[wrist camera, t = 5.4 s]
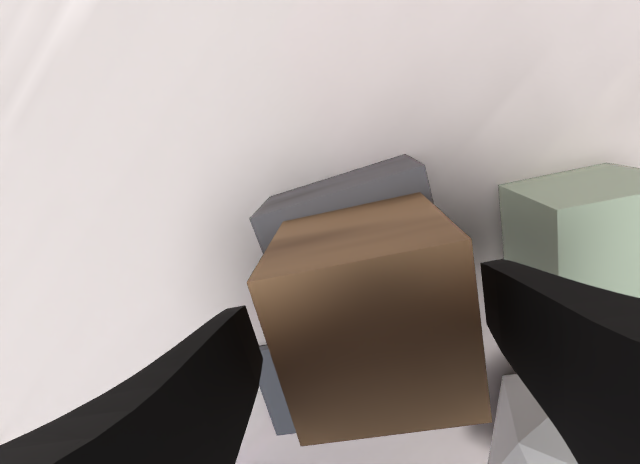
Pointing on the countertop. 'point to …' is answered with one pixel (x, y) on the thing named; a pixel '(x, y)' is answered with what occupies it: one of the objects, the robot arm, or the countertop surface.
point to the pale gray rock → (524, 429)
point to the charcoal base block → (341, 194)
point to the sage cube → (577, 225)
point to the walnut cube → (373, 321)
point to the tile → (274, 396)
